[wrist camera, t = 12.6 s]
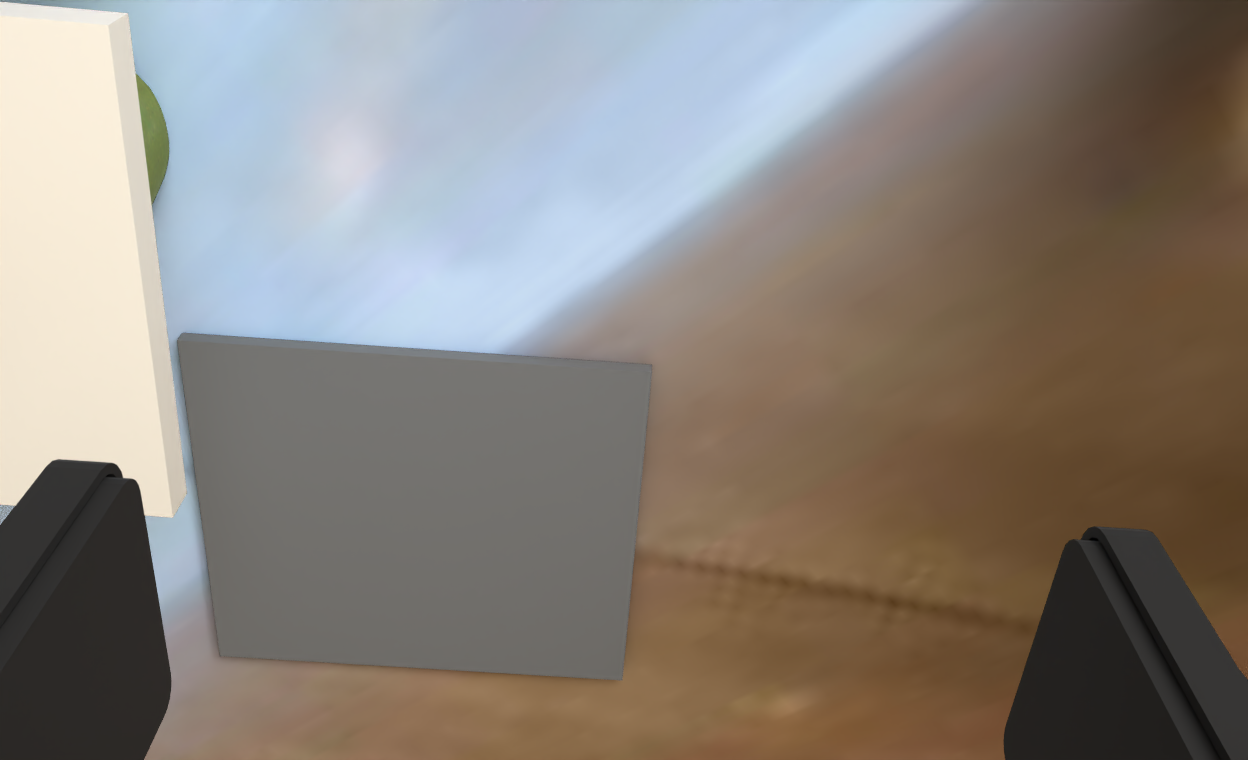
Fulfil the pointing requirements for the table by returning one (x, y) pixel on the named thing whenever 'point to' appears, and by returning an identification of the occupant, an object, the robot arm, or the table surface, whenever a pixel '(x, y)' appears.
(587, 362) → the mat
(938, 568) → the table surface
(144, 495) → the lid
